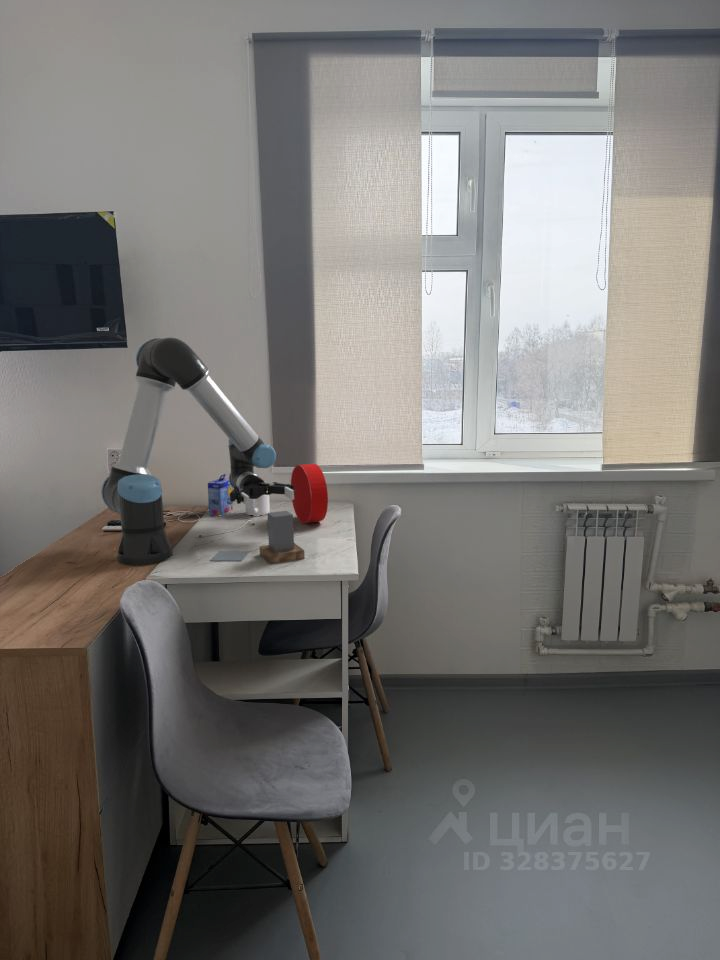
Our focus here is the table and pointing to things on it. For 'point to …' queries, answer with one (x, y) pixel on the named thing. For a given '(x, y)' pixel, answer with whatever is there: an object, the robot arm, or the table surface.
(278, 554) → the socket block
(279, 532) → the plug
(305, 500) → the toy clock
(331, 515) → the table surface
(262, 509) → the mug
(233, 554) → the mat
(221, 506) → the ink cartridge box
